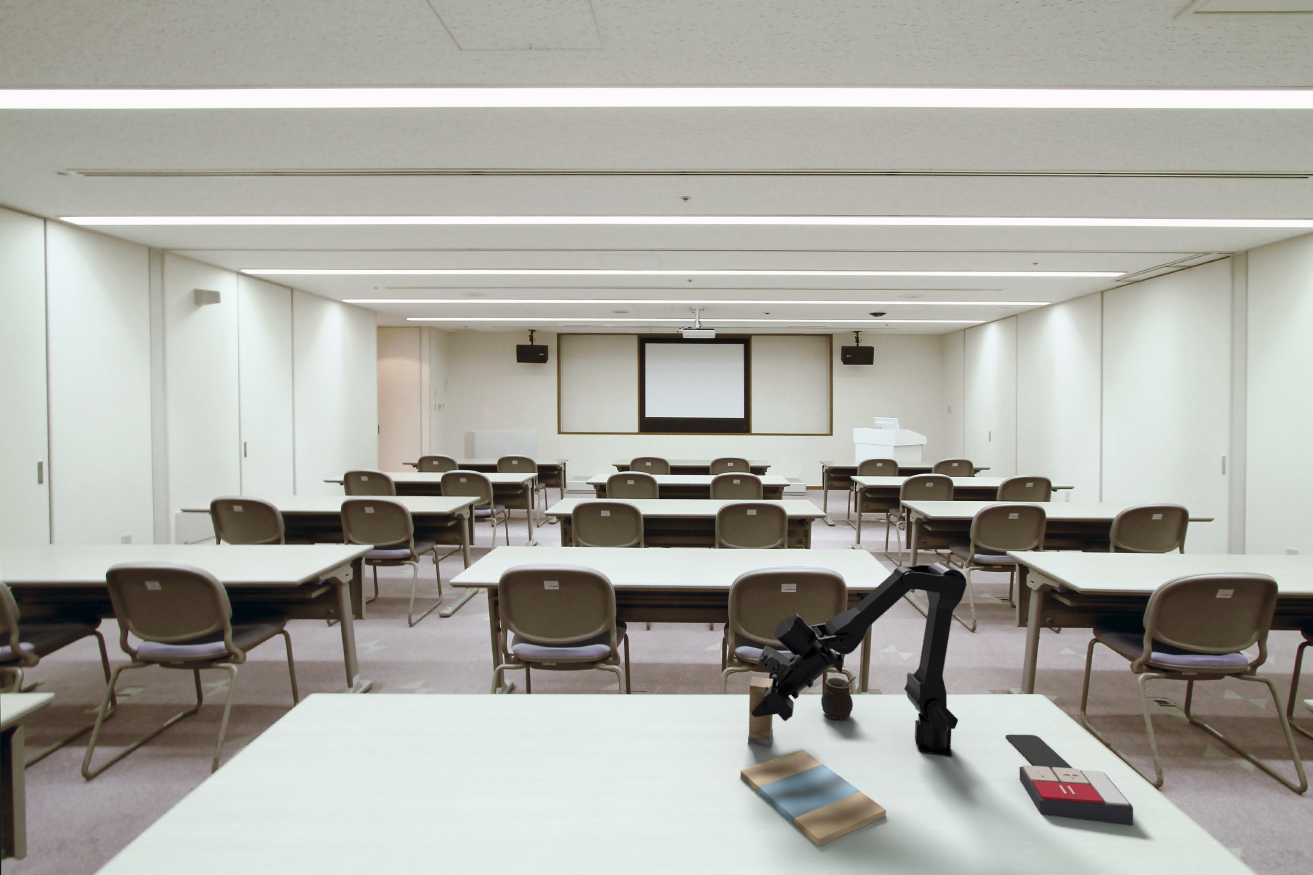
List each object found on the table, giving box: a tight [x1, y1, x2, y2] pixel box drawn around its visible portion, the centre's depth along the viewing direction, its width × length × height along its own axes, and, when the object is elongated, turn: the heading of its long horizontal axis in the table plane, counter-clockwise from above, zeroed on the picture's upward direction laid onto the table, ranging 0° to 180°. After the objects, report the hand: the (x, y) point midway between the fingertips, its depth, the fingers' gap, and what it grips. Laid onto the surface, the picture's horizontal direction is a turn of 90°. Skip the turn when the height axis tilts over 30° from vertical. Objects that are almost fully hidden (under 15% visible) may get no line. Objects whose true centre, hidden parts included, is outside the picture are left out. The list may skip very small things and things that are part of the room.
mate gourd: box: [820, 676, 857, 721], centre depth 150 cm, size 7×8×10 cm
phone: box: [1005, 734, 1073, 769], centre depth 134 cm, size 7×1×15 cm
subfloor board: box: [740, 749, 887, 847], centre depth 121 cm, size 22×16×1 cm
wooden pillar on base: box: [747, 676, 774, 748], centre depth 139 cm, size 5×5×13 cm
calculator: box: [1019, 764, 1134, 826], centre depth 119 cm, size 11×4×15 cm
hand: (754, 709), depth 140 cm, fingers closed on wooden pillar on base, 4 cm apart
